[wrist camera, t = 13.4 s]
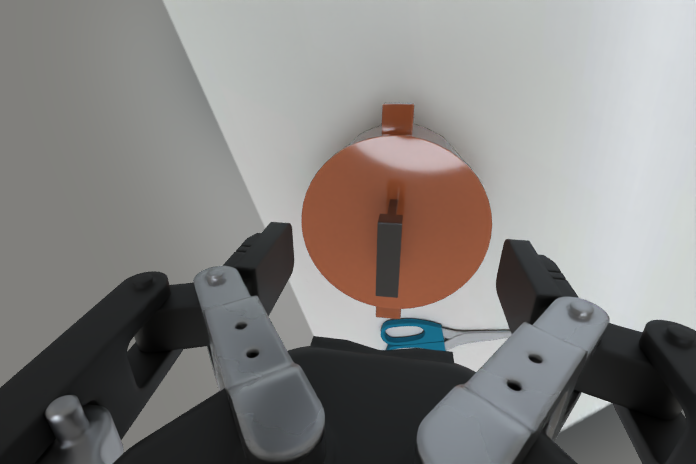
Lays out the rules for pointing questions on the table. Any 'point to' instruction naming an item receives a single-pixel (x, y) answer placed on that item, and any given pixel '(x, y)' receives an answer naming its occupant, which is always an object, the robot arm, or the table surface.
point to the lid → (396, 221)
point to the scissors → (435, 336)
